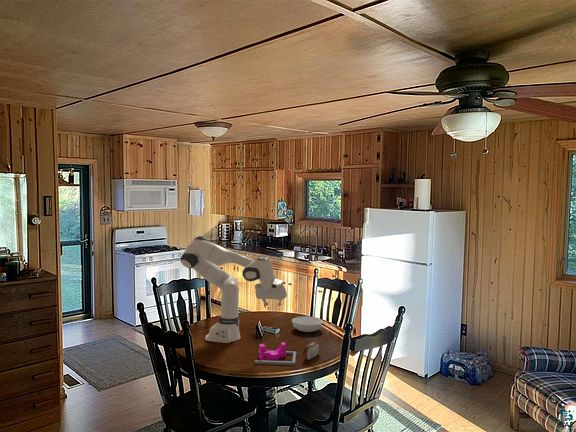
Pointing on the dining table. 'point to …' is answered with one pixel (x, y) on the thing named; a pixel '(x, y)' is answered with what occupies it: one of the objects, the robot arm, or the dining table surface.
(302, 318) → the serving bowl
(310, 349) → the tin
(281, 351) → the toy block
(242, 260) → the robot arm
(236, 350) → the dining table surface
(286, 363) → the frame
